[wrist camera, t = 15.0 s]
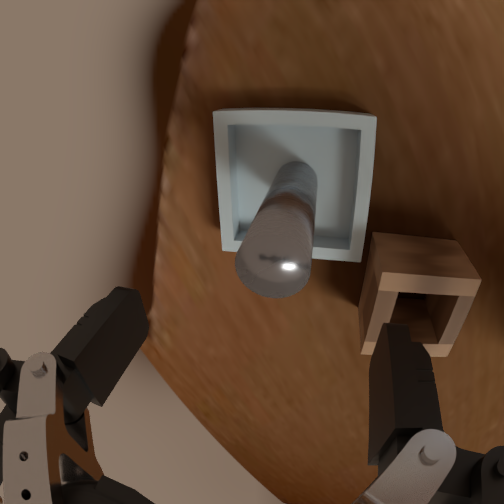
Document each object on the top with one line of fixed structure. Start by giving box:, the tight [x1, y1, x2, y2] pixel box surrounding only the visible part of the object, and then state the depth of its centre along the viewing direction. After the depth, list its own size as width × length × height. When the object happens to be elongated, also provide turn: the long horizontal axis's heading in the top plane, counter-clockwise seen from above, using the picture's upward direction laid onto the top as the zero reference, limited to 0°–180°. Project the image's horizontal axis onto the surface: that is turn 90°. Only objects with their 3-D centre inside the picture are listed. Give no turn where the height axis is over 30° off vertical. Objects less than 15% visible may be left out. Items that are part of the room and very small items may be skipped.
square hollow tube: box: [358, 232, 482, 357], centre depth 23 cm, size 8×8×6 cm
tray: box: [213, 108, 377, 262], centre depth 23 cm, size 11×11×2 cm
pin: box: [235, 161, 318, 298], centre depth 18 cm, size 3×3×12 cm
